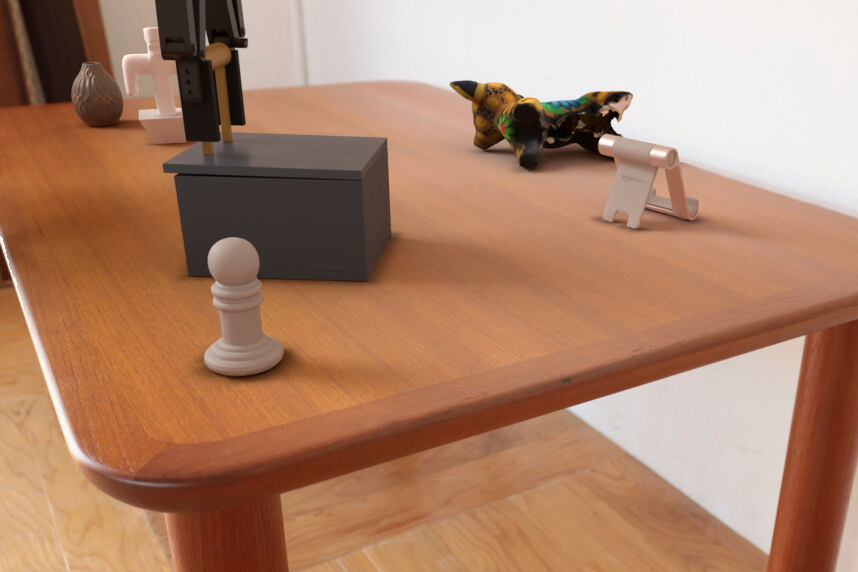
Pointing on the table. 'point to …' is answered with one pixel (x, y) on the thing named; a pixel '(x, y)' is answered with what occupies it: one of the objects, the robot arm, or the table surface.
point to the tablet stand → (644, 180)
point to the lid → (273, 146)
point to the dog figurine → (540, 119)
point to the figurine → (155, 91)
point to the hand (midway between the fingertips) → (217, 131)
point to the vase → (96, 96)
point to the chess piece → (239, 312)
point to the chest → (289, 222)
